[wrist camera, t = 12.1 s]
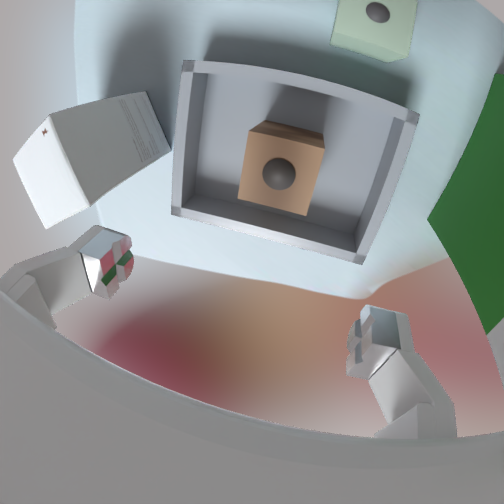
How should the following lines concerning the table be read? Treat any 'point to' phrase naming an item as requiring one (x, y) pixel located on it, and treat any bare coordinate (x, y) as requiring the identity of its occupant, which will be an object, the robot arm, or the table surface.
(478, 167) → the hardback book
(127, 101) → the supplement box
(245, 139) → the tray
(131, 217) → the table surface
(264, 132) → the walnut block
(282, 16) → the table surface
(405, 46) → the sage block
